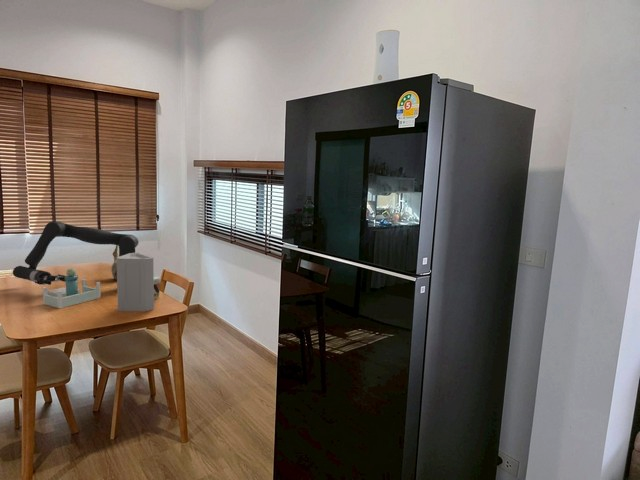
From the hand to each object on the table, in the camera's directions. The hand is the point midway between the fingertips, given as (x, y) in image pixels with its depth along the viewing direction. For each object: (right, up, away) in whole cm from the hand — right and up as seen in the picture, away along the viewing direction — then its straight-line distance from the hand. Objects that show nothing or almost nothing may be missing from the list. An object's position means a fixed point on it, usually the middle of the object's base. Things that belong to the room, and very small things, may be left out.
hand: (58, 281), depth 232 cm
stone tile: (-2, -8, +8) cm, 12 cm away
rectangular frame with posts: (+10, -10, -3) cm, 15 cm away
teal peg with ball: (+10, -10, -3) cm, 15 cm away
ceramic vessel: (+12, -4, +46) cm, 47 cm away
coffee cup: (+49, -11, +9) cm, 51 cm away
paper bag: (+46, -13, -10) cm, 49 cm away
